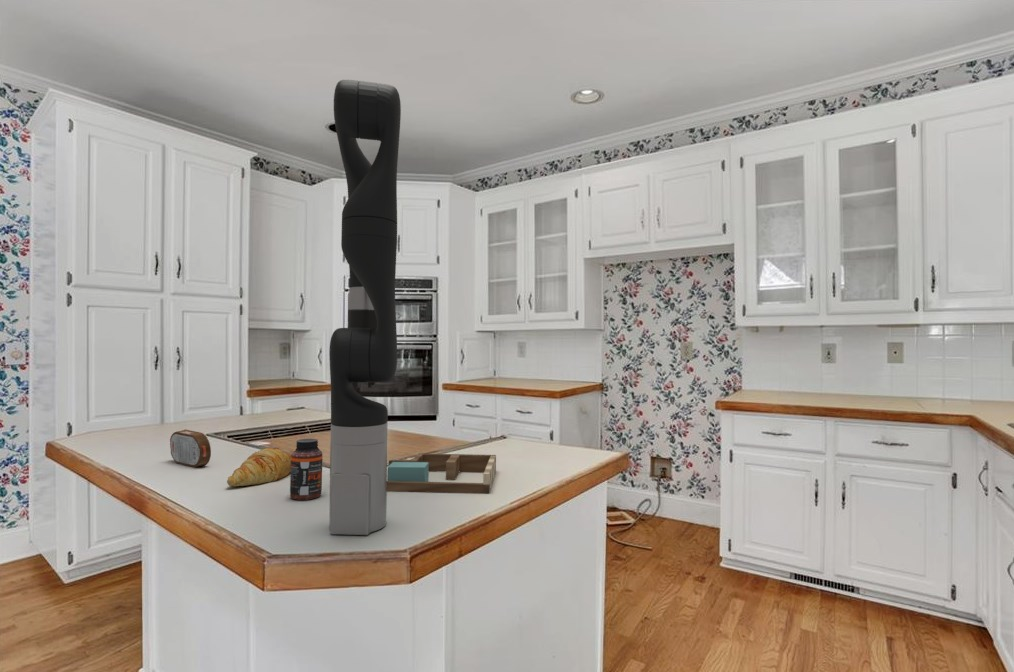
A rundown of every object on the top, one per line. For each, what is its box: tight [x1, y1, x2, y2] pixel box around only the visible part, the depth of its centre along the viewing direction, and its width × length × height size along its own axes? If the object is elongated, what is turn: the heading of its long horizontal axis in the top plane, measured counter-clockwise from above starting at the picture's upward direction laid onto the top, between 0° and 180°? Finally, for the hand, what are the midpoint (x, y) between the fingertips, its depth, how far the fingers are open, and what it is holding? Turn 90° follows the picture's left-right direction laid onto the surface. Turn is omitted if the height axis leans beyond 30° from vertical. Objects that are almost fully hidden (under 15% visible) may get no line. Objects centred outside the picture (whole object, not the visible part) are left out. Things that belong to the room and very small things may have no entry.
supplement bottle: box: [289, 438, 323, 501], centre depth 106 cm, size 6×6×11 cm
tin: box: [169, 429, 212, 468], centre depth 133 cm, size 15×3×8 cm, turn 58°
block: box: [387, 462, 430, 482], centre depth 116 cm, size 5×8×4 cm, turn 89°
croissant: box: [226, 447, 291, 487], centre depth 120 cm, size 21×10×8 cm, turn 165°
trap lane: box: [387, 453, 497, 494], centre depth 119 cm, size 19×24×4 cm
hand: (364, 387), depth 117 cm, fingers closed
